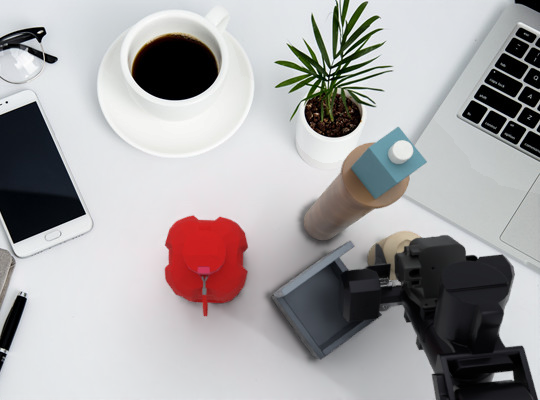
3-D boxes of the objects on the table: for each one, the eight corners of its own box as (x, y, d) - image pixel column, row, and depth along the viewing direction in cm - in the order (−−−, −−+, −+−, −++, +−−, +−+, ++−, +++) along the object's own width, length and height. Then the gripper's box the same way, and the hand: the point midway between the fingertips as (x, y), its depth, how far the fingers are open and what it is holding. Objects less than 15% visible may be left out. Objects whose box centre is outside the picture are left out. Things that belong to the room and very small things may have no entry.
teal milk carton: (401, 180, 55) (433, 157, 47) (375, 199, 55) (402, 179, 47) (376, 149, 56) (403, 120, 48) (350, 167, 56) (372, 142, 47)
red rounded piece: (174, 314, 84) (154, 315, 59) (176, 234, 86) (158, 203, 61) (242, 317, 83) (250, 318, 58) (243, 236, 85) (252, 205, 60)
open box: (371, 314, 82) (382, 315, 77) (313, 356, 82) (320, 360, 76) (327, 256, 84) (335, 252, 78) (270, 296, 83) (274, 295, 78)
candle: (415, 253, 83) (442, 244, 73) (395, 288, 82) (419, 284, 72) (379, 232, 83) (400, 220, 74) (359, 266, 83) (377, 259, 73)
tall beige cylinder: (352, 227, 84) (423, 181, 55) (317, 252, 84) (369, 220, 55) (326, 192, 86) (381, 129, 56) (291, 217, 85) (328, 166, 56)
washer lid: (355, 246, 68) (350, 240, 68) (284, 296, 67) (280, 290, 67) (337, 254, 78) (334, 249, 78) (276, 298, 77) (272, 293, 77)
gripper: (557, 267, 59) (485, 181, 72) (361, 287, 59) (326, 198, 72) (533, 347, 65) (471, 255, 78) (356, 365, 65) (324, 270, 78)
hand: (400, 243), depth 76 cm, fingers closed on candle, 5 cm apart
